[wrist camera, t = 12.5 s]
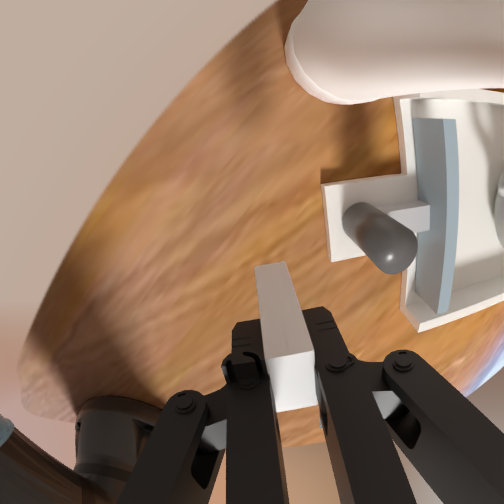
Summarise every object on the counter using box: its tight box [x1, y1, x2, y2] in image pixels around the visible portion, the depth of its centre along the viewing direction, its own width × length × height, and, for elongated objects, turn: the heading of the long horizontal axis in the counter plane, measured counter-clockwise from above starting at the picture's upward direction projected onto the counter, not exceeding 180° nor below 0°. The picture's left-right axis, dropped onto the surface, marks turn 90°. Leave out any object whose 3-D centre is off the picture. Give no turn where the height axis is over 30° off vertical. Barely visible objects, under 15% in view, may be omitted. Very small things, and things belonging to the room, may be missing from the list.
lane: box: [321, 89, 504, 333], centre depth 21 cm, size 33×20×6 cm, turn 100°
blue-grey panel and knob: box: [342, 118, 459, 315], centre depth 20 cm, size 8×15×6 cm, turn 10°
